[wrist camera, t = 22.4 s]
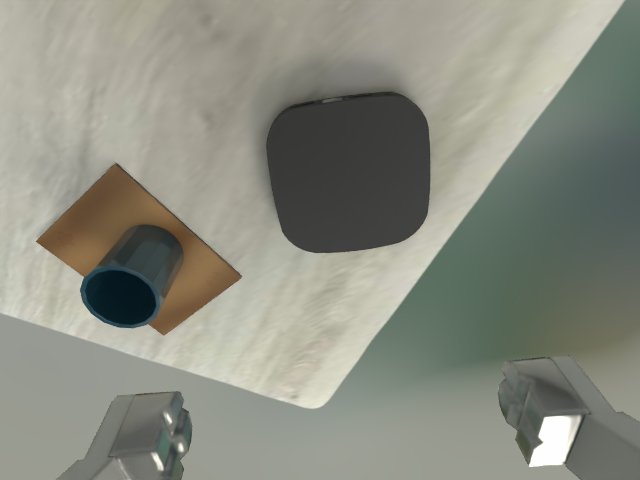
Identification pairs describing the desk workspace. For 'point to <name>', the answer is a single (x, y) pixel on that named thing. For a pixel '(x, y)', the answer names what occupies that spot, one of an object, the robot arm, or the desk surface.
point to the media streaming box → (350, 171)
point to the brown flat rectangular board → (123, 213)
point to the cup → (133, 277)
